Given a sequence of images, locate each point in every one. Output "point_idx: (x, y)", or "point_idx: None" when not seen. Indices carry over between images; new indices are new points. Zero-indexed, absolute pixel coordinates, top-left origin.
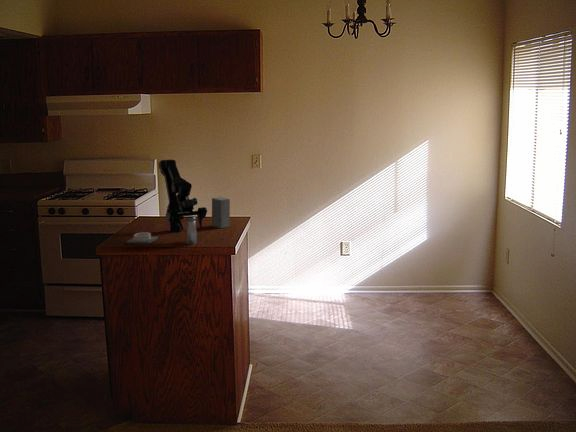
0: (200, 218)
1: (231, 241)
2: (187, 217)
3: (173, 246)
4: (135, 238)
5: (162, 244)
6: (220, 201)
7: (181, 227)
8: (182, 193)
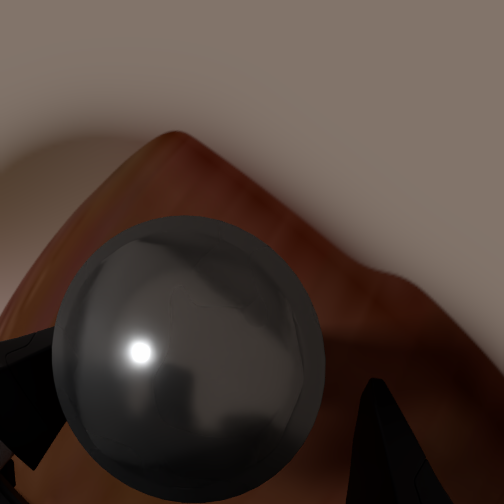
0: (22, 349)
1: (82, 223)
2: (228, 456)
3: (418, 380)
4: None
5: None
6: None
7: (389, 399)
8: None
